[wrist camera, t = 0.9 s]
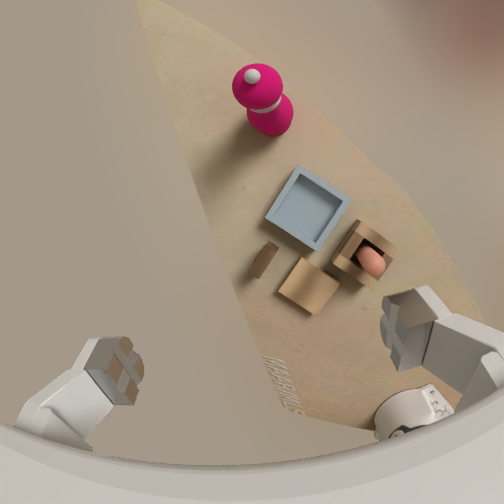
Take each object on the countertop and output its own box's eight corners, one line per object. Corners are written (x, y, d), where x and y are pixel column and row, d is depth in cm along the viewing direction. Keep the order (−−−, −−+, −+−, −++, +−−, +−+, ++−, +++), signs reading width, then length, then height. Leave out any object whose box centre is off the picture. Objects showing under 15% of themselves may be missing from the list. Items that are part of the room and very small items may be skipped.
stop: (278, 247, 49) (275, 253, 45) (263, 270, 51) (258, 279, 46) (269, 241, 50) (264, 246, 45) (253, 264, 51) (248, 272, 46)
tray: (349, 199, 46) (351, 199, 43) (316, 248, 48) (317, 251, 45) (298, 166, 46) (298, 164, 43) (267, 216, 49) (264, 217, 46)
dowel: (374, 249, 46) (389, 262, 37) (364, 263, 47) (377, 280, 37) (360, 239, 46) (373, 250, 37) (350, 254, 47) (361, 268, 38)
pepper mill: (255, 141, 47) (221, 109, 27) (249, 103, 45) (214, 54, 26) (297, 135, 45) (290, 97, 26) (290, 97, 44) (278, 41, 25)
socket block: (392, 245, 45) (399, 249, 42) (367, 282, 48) (371, 289, 44) (357, 219, 46) (361, 221, 42) (331, 258, 48) (333, 263, 44)
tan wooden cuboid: (338, 279, 49) (340, 284, 47) (315, 310, 51) (316, 316, 48) (301, 255, 49) (301, 258, 47) (279, 286, 51) (278, 291, 49)
